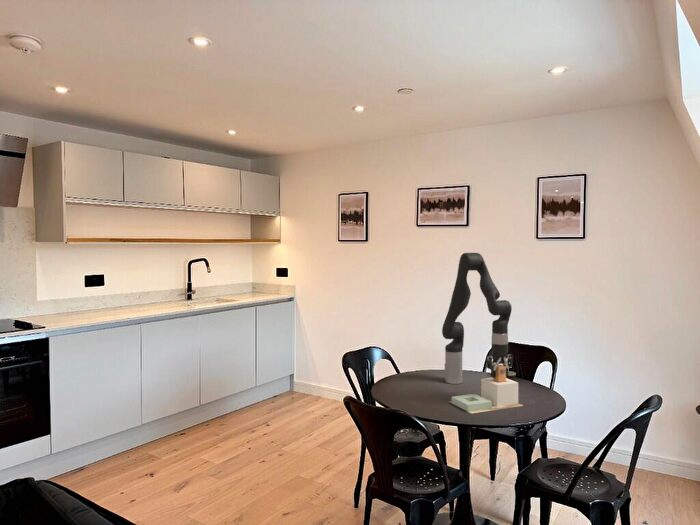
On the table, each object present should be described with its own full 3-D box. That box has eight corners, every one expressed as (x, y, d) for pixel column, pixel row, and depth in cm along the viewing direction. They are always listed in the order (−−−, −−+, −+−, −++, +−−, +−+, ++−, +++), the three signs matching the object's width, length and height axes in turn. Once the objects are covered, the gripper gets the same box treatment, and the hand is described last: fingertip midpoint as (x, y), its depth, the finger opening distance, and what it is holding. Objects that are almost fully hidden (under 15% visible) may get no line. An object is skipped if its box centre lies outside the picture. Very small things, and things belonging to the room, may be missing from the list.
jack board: (448, 403, 229) (448, 401, 229) (498, 396, 240) (498, 394, 239) (471, 415, 212) (471, 413, 212) (523, 407, 223) (523, 405, 223)
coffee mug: (515, 390, 249) (515, 371, 249) (516, 395, 241) (516, 375, 241) (491, 389, 253) (492, 370, 252) (492, 393, 244) (492, 374, 244)
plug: (493, 386, 230) (493, 365, 229) (500, 385, 231) (500, 364, 231) (499, 388, 225) (500, 367, 225) (506, 388, 227) (507, 367, 226)
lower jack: (451, 403, 227) (451, 396, 226) (474, 399, 231) (474, 393, 231) (467, 411, 214) (467, 405, 214) (491, 408, 219) (491, 401, 219)
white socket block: (481, 399, 232) (481, 378, 232) (501, 396, 237) (501, 376, 236) (497, 406, 221) (497, 385, 221) (518, 403, 225) (518, 382, 225)
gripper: (506, 339, 234) (506, 373, 235) (482, 342, 229) (482, 376, 229) (517, 342, 227) (517, 377, 228) (492, 344, 222) (492, 380, 222)
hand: (499, 377), depth 228 cm, fingers open, 6 cm apart
